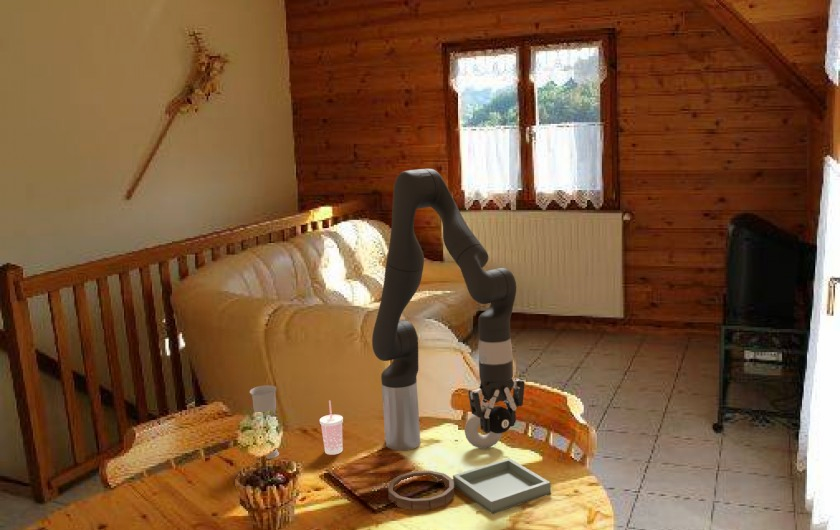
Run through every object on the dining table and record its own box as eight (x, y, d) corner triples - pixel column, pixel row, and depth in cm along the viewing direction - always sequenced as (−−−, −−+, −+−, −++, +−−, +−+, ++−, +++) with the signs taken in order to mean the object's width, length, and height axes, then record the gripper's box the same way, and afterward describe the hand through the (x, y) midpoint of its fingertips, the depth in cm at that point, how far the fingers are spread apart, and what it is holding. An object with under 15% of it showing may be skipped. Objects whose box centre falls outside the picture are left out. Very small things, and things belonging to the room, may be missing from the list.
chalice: (276, 461, 210) (270, 395, 206) (251, 460, 211) (245, 394, 208) (286, 449, 217) (280, 385, 213) (262, 448, 218) (256, 384, 215)
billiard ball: (494, 439, 180) (493, 414, 179) (480, 431, 185) (479, 406, 184) (517, 433, 183) (516, 408, 182) (502, 425, 188) (501, 400, 187)
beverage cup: (350, 448, 215) (346, 398, 212) (335, 457, 210) (331, 406, 207) (332, 444, 218) (327, 395, 216) (317, 453, 213) (313, 402, 211)
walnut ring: (378, 490, 190) (377, 481, 190) (433, 473, 197) (433, 465, 197) (408, 516, 177) (407, 507, 177) (466, 497, 184) (466, 488, 184)
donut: (466, 452, 208) (464, 415, 206) (464, 447, 212) (462, 410, 210) (504, 448, 209) (503, 412, 207) (502, 443, 213) (500, 407, 211)
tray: (453, 486, 190) (452, 475, 189) (509, 468, 197) (509, 458, 197) (491, 513, 176) (491, 501, 176) (550, 493, 184) (550, 482, 183)
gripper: (512, 348, 188) (514, 416, 191) (459, 360, 181) (462, 431, 184) (531, 355, 181) (534, 426, 184) (477, 368, 174) (480, 441, 177)
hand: (498, 428), depth 184 cm, fingers closed on billiard ball, 6 cm apart
